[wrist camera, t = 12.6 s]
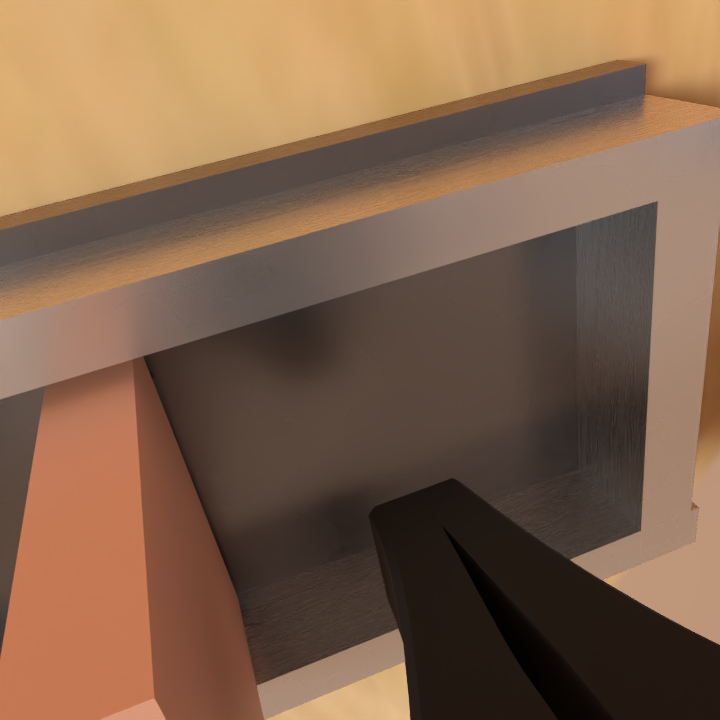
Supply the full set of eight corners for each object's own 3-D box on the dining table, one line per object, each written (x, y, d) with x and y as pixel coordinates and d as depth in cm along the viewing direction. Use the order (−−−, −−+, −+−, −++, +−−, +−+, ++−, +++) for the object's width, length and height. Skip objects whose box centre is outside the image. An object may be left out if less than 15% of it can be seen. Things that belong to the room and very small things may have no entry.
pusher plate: (130, 323, 11) (154, 698, 5) (238, 597, 14) (327, 1015, 8) (51, 346, 10) (-17, 763, 5) (179, 618, 14) (230, 1063, 8)
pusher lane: (616, 60, 12) (876, 91, 8) (609, 477, 18) (767, 628, 13) (-940, 456, 8) (-1993, 917, 4) (-363, 848, 13) (-577, 1235, 9)
